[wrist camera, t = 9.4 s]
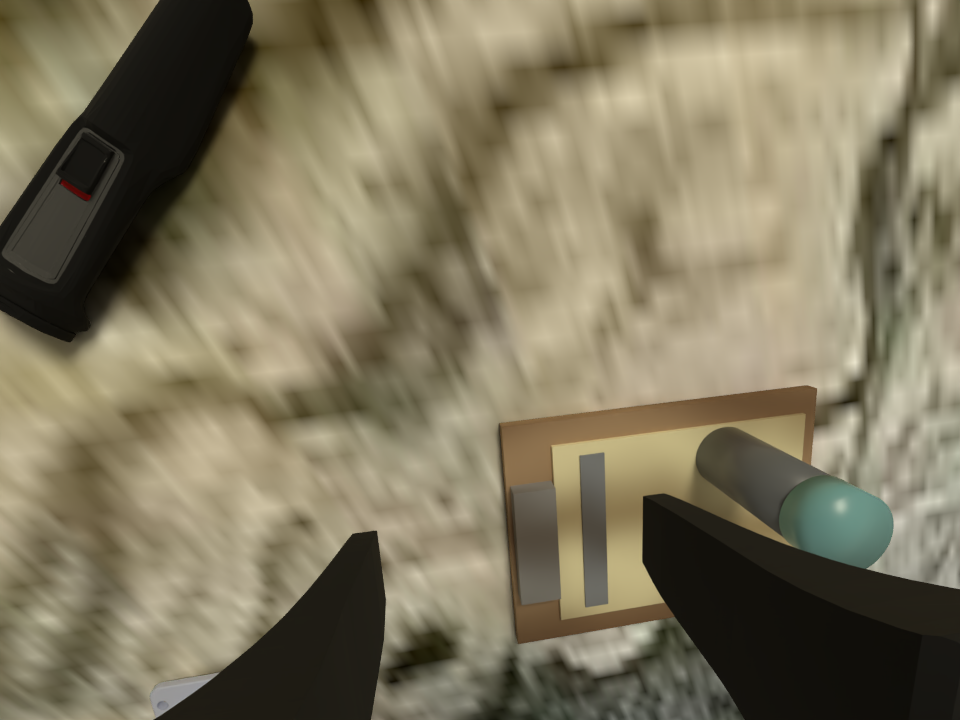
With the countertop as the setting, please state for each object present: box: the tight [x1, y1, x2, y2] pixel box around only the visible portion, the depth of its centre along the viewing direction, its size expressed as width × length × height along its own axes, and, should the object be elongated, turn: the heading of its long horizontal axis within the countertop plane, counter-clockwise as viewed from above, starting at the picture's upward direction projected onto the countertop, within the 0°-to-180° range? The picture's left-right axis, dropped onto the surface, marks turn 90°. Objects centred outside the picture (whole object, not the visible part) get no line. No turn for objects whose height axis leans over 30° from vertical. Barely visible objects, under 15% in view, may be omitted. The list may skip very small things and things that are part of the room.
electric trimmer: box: [0, 0, 253, 342], centre depth 17 cm, size 4×15×3 cm, turn 142°
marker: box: [696, 427, 893, 569], centre depth 19 cm, size 3×3×7 cm
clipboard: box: [499, 386, 817, 644], centre depth 23 cm, size 12×16×1 cm
